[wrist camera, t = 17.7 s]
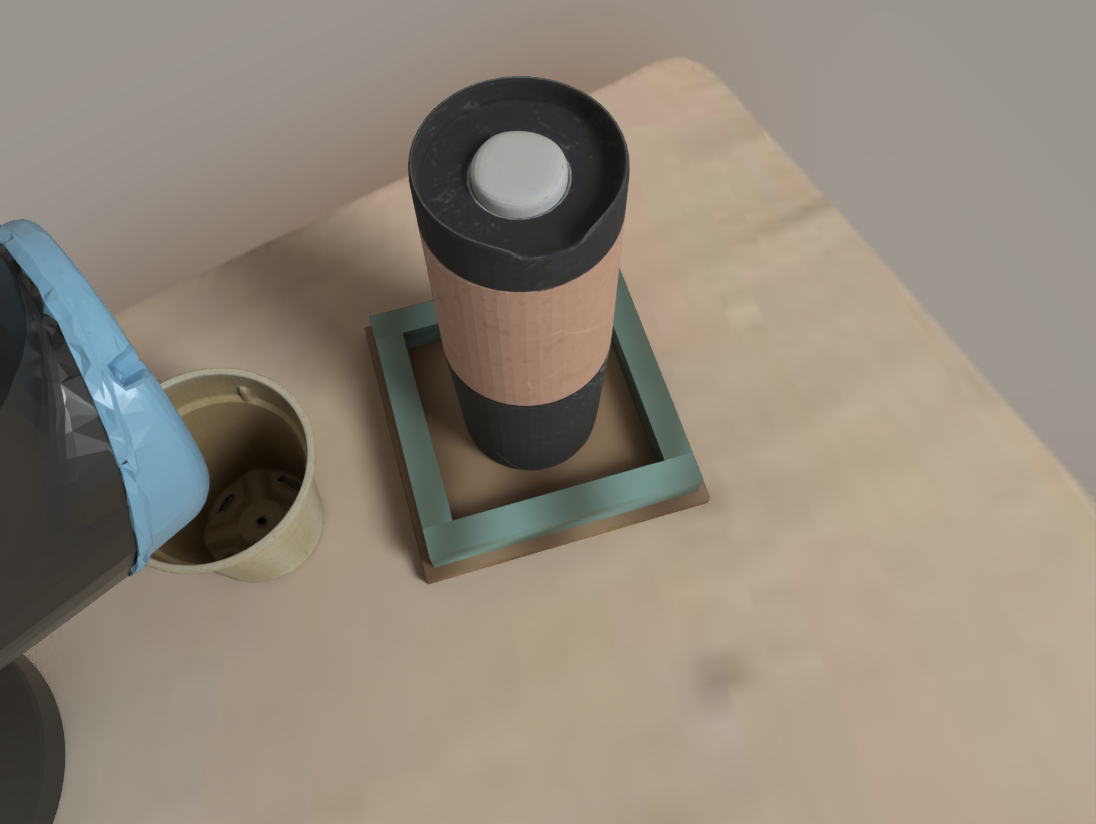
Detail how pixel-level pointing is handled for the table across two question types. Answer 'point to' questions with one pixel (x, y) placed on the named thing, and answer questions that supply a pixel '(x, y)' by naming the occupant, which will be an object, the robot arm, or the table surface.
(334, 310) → the table surface
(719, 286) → the table surface
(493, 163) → the travel mug
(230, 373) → the flower pot
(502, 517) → the coaster dock
